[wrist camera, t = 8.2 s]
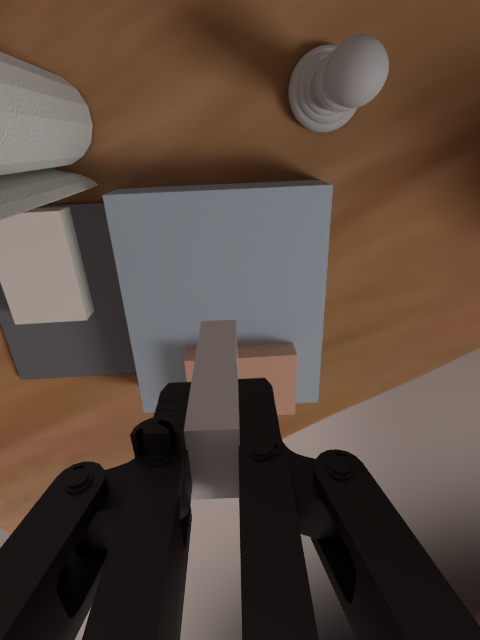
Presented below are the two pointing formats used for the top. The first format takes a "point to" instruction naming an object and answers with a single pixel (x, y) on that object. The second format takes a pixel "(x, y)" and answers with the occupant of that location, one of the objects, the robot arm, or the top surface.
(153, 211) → the pale blue flat slab
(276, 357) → the terracotta card
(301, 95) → the chess piece
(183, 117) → the top surface
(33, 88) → the paper towel roll
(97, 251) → the mat
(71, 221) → the beige rectangular block
